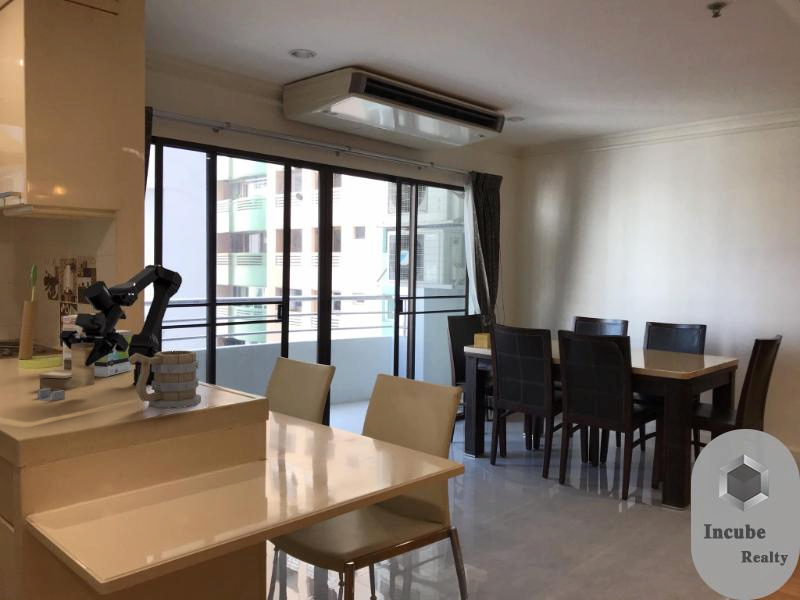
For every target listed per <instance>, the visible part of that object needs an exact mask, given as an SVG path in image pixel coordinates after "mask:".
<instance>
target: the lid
mask: <svg viewBox="0 0 800 600" xmlns="http://www.w3.org/2000/svg"><path fill="white" fill-rule="evenodd" d="M71 362H72V361H71V359H64V369H63V368H61V369H58V370H55V371H54V370H53V371H49V372H46V373H43V374H39V379H41V378H69V377H72V364H71Z"/></svg>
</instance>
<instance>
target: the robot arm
mask: <svg viewBox="0 0 800 600" xmlns="http://www.w3.org/2000/svg"><path fill="white" fill-rule="evenodd" d="M182 283H183V278H182V276H181V274H180V273H179V272H178V271H174V270H171V269H168V268H165V267H163V265H160V264H148V265H146V266H145V267H144V269H142V270H140V271H139V272H138V273H137V274H136V275H134V276H133V277H131V278H130V279H129V280H127V281H126V282H123V283H118V284H115V285H113V286H111V287H109V288H108V287H107V284H106V283H105V281H104V280H96V282H95V283H92V284H91V285H88V287H86V288H85V289H84V290H83V296H84V297H85V299H86V301H87V302H88V303H89V304H90V306H91V307H92V308H93V309H94V310H95V311H99V312H96V313H77V314H76V315H77V318H76V321H75V325H78V326H80V327H82V328H83V329H82V332H83V333H85V334H86V335H85V336H84V335H81V334H79V333H78V332H77V331H73V330H64V331H63V330H62V331H61V333H60V335H59V336H58V337H59V339H60V340H61V341H62V343H63V342H64V343H65V345H66V346H67V347H68V348H69V349H71V344H76V343H94V348H93V350H92V351H91V353H90V355H89V357H88V358H87V361H86V363H85V365H86V366H89V365H91V364H93V363H94V362H96V361H97V360H99V359H101V358H102V357H104V356H106V355H108V354H110V353H113V348H114V347H115V346H116V347H115V349H116V351H118V352H125V351H126V350H127V348H128V346H129V349H128V355H129V357H131V356H132V355H134V354H135V353H139V354H141V355H143V356H146V357H149V358H153V357H154V354H155V353H158V352H161V351H160V350H159V348H160V344H159V343H160V342H159V340H158V334H159V331H160V329H161V326H162V323H163V320H164V317H165V314H166V311H167V309H168V306H169V303H170V300H171V298H173V296H174V295H176V294H177V293H178V291H179V290H180V288H181V286H182ZM151 284H152V287H153V290H154V295H153V297H152V301H151V304H150V307H149V309H148V312H147V315H146V317H145V319H144V323H143V326H142V329H141V331H140V332H139V333H137V334H135V333H132V338H131V342H130V344H129V345H128V342H127V340H126V339H125V338H124V336H123V335H122V333H121V332H116V330H117V329H116V326H117V324H118V322H119V321H120V320H127V315H126V312H125V310H124V309H122V307H132V306H133V305H134V304H135V302H137V301H138V299H139V294H140V293H141V292H143V290H145V289H146V288H147V287H148V286H150V285H151ZM115 344H116V345H115ZM71 364H72V362H71ZM131 365H132V366H133V365H134V366H135V367H134V369H133V383H132V385H134V384H137V381H138V378H139V375H140V370H141V362H139V361H136V362H135V363H134V364H131ZM153 380H154V372H152V364H150V372H149V376H148V379H147V382H146V386H152V381H153Z"/></svg>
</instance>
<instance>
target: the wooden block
mask: <svg viewBox="0 0 800 600" xmlns="http://www.w3.org/2000/svg"><path fill="white" fill-rule="evenodd" d="M93 348H94V343H76V344H71V361H72V386H76V388H79V387H80V388H87V387H90V386H94V385H95V384H96V383H95V376H94V363H93V364H91V365H89V366H86V365H85V363H86V361H87V358H88V357H89V355H90V353H91V351H92V350H93Z"/></svg>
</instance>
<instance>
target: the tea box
mask: <svg viewBox="0 0 800 600" xmlns="http://www.w3.org/2000/svg"><path fill="white" fill-rule="evenodd" d="M115 330H116V332H121V333H122V335H123V336H124V338H125V339H126V340H127V342H128V345H129V344H130V342H131V338H132V336H133V330H124V329H122V330H121V329H115ZM83 335H84V336H85V335H86V334H85V333H83ZM115 345H116V344H115ZM115 347H116V346H115ZM115 347H114V348H113V353H110V354H108V355H106V356H104V357H102V358H101V359H99V360H97V361H96V362H94V377H103V378H107V377H109V376H113V375H117V374H122V373H127V371H128V372H131V371H132V370H133V365H131V363H130V362H129V360H128V358H129V355H128V349H129V346H128V348H127V350H126V351H125V352H118V351H116V349H115Z"/></svg>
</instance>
